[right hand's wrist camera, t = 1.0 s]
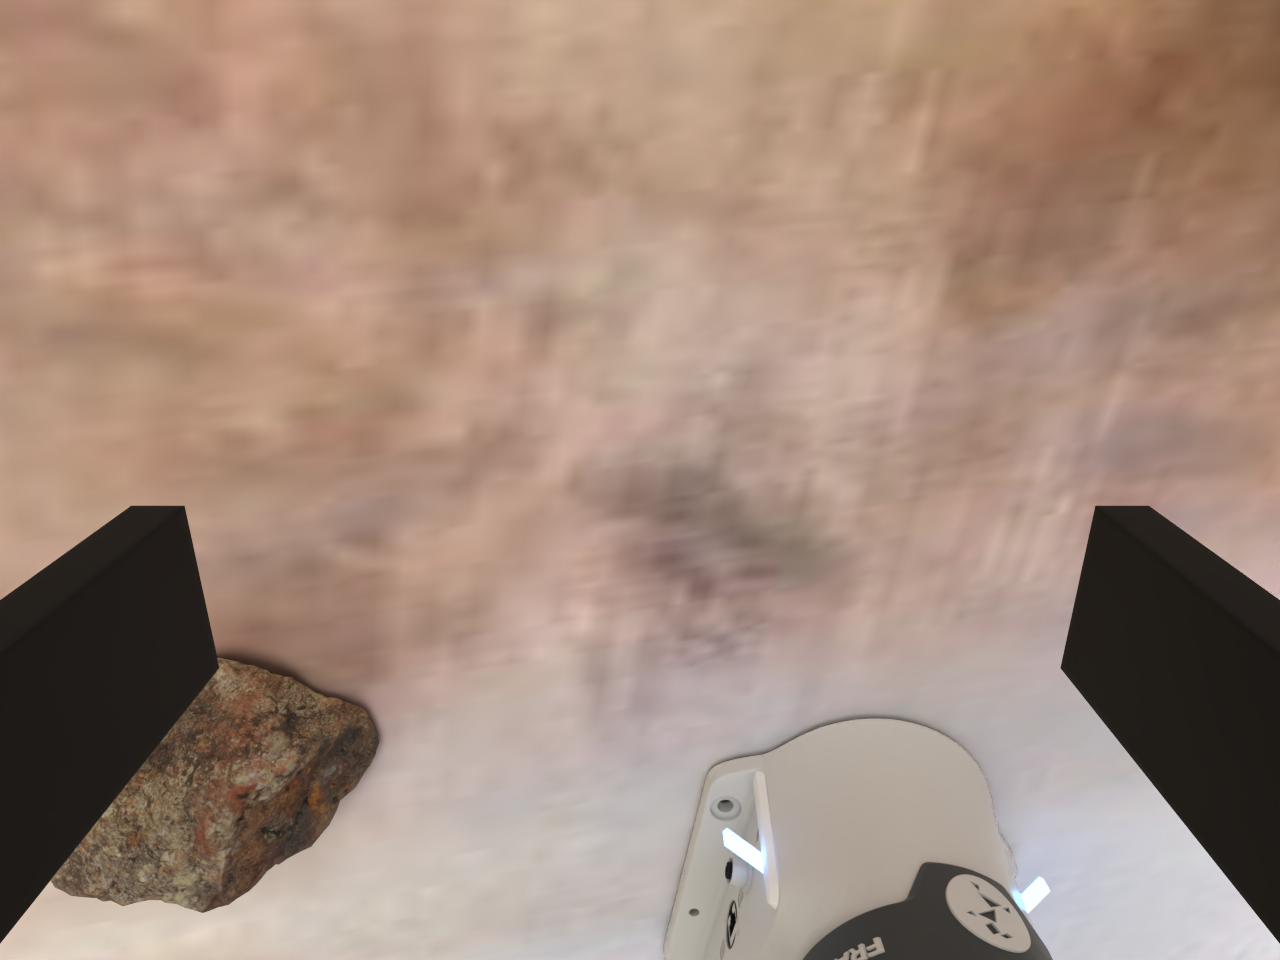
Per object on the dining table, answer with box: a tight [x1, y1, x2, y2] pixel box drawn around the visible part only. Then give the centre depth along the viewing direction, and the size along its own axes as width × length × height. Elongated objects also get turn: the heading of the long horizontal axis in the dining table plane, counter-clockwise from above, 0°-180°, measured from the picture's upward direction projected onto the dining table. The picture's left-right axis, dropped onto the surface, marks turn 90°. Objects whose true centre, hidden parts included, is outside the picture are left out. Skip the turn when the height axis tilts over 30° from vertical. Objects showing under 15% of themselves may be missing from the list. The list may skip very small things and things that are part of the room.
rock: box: [51, 658, 379, 913], centre depth 42 cm, size 14×9×10 cm
